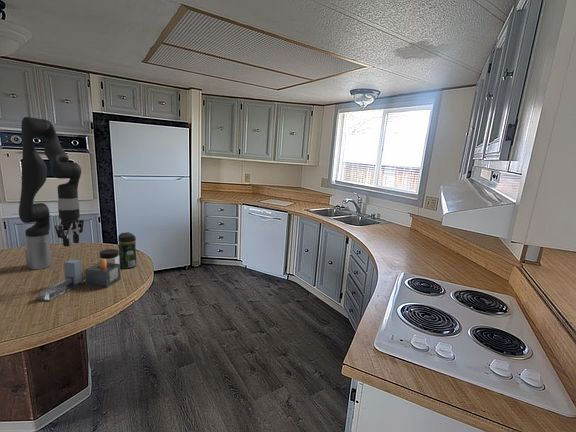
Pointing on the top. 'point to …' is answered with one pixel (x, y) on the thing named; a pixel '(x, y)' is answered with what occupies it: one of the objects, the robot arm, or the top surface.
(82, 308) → the top surface
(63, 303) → the top surface
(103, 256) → the jar
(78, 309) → the top surface
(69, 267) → the block
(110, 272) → the block with square hole
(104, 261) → the orange peg
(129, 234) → the coffee jar
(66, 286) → the rail
